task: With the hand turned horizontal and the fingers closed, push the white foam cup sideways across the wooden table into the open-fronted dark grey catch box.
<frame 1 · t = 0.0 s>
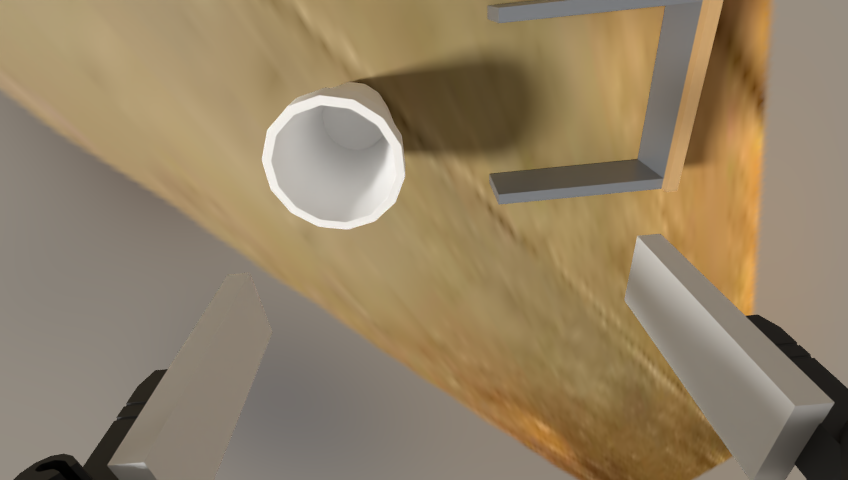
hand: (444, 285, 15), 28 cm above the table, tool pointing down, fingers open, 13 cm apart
foam cup: (355, 116, 39), on the table
catch box: (574, 94, 39), on the table
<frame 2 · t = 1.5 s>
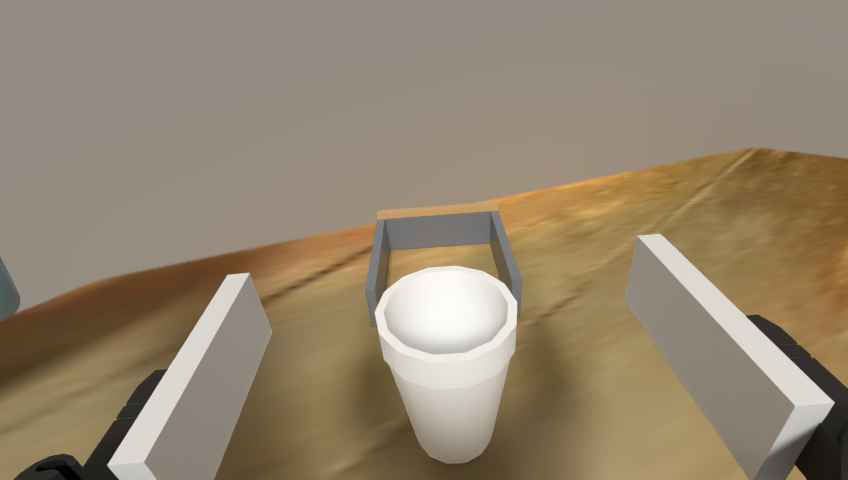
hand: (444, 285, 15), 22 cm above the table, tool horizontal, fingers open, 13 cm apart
foam cup: (453, 428, 35), on the table
catch box: (442, 277, 52), on the table
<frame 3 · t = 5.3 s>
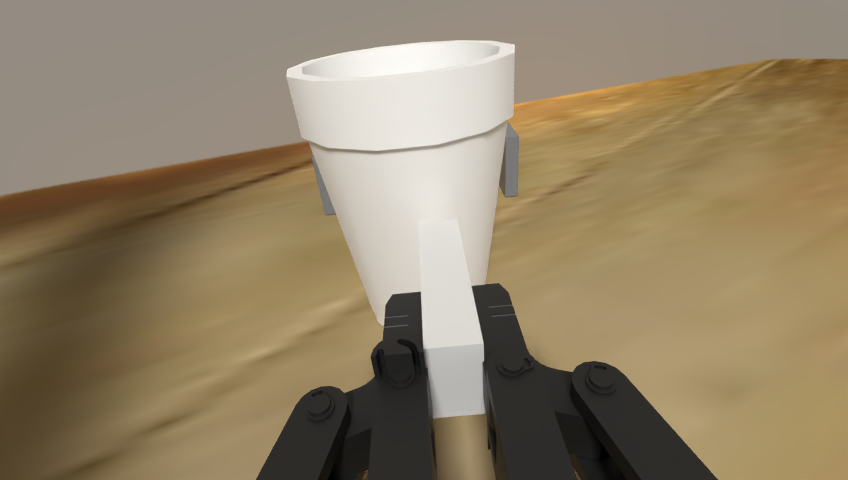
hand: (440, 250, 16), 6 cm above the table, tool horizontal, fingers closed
foam cup: (428, 303, 24), on the table, touching gripper
catch box: (418, 169, 41), on the table
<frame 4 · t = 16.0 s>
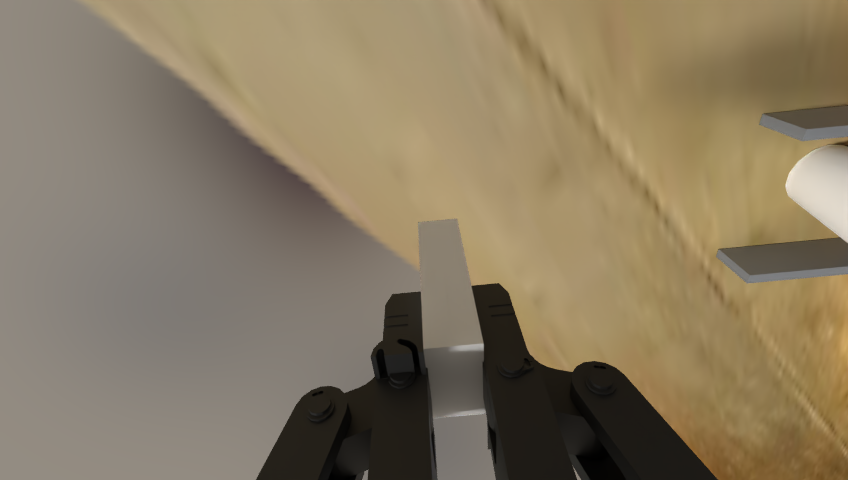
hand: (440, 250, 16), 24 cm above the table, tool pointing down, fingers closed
foam cup: (817, 173, 42), resting in catch box
catch box: (815, 184, 43), on the table
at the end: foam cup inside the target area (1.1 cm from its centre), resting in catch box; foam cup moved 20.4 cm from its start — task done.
